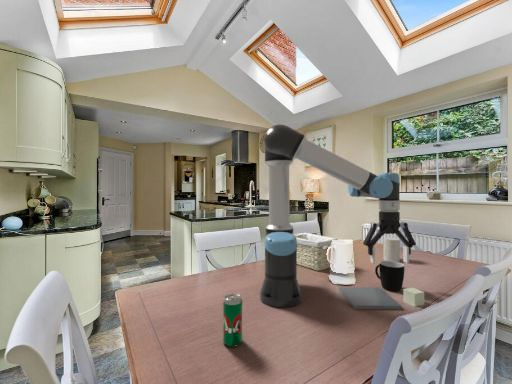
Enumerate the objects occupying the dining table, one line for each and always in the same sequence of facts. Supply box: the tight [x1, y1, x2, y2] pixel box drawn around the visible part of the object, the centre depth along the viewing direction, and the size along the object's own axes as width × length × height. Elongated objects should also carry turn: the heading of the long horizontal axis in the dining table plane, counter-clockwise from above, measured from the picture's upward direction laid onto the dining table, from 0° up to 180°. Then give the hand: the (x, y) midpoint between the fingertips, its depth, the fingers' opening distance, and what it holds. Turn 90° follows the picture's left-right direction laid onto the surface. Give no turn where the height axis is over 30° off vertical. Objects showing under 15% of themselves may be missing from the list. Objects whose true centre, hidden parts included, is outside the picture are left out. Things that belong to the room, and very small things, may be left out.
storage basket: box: [293, 232, 338, 271], centre depth 137 cm, size 24×16×15 cm
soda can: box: [222, 293, 243, 347], centre depth 68 cm, size 5×5×12 cm
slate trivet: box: [338, 286, 403, 310], centre depth 95 cm, size 16×16×1 cm
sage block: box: [402, 287, 425, 307], centre depth 91 cm, size 4×4×4 cm
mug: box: [374, 260, 405, 293], centre depth 105 cm, size 12×9×10 cm
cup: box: [382, 236, 401, 263], centre depth 145 cm, size 8×8×12 cm
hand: (389, 262), depth 105 cm, fingers open, 13 cm apart
